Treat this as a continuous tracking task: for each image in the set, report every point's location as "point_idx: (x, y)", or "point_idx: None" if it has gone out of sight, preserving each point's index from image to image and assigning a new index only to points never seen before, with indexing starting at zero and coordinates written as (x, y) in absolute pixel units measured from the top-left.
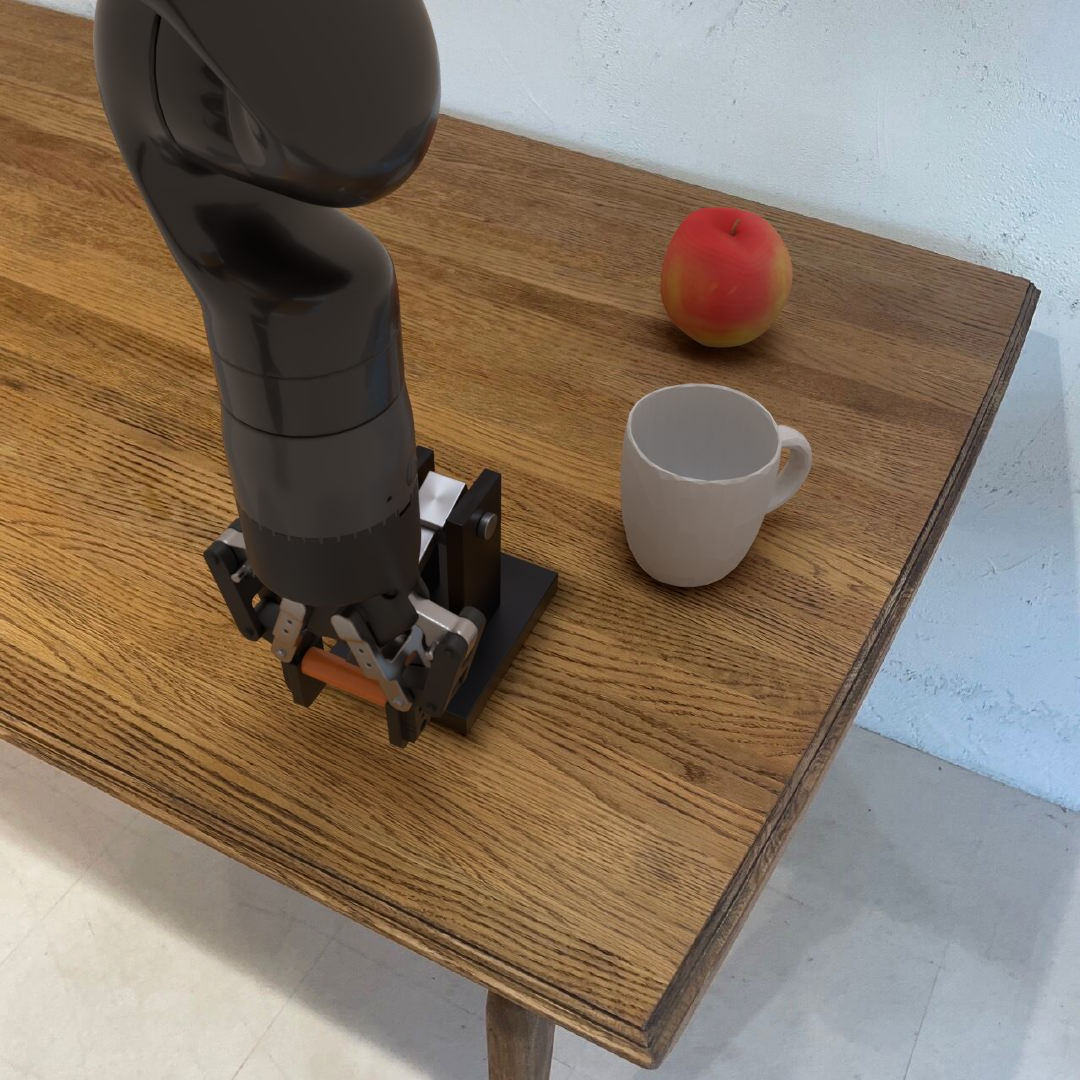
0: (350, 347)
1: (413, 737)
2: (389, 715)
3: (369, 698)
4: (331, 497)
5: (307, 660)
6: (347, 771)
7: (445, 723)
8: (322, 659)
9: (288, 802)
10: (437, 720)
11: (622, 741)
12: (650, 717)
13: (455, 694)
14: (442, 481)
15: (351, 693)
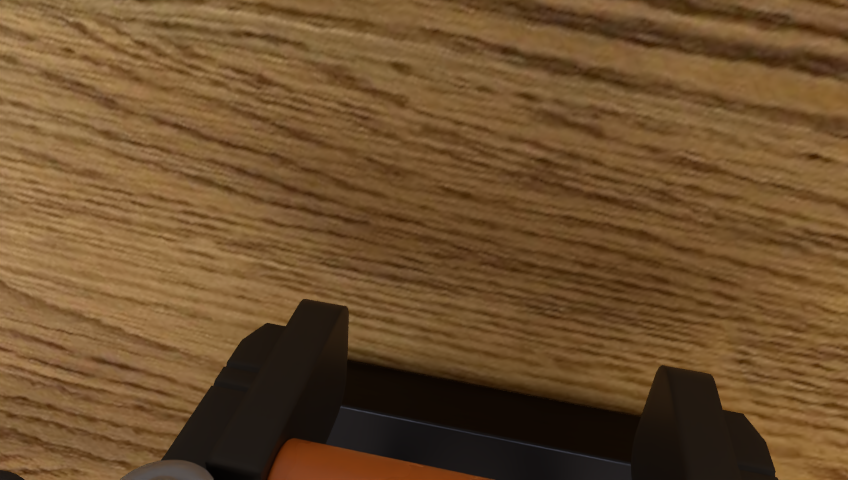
0: None
1: (252, 344)
2: (272, 418)
3: (357, 474)
4: None
5: None
6: (524, 205)
7: (348, 370)
8: None
9: (651, 70)
10: (369, 373)
11: (37, 394)
12: (28, 443)
13: (333, 444)
14: None
15: (450, 474)
